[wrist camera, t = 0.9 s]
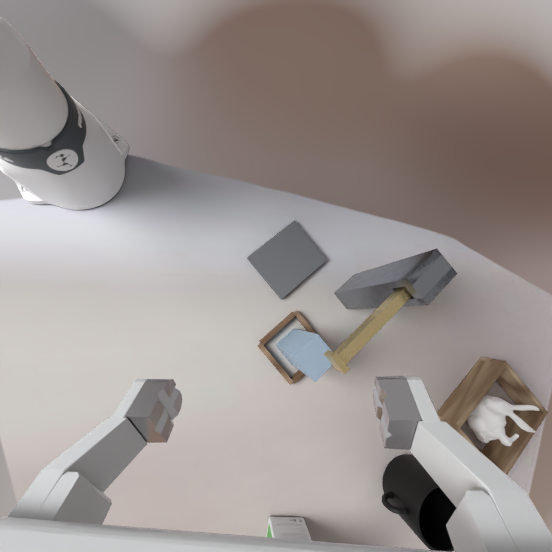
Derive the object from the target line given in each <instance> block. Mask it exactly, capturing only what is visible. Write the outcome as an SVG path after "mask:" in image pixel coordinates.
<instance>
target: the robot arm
mask: <svg viewBox="0 0 552 552" xmlns="http://www.w3.org/2000/svg"><path fill="white" fill-rule="evenodd" d="M115 141H118V142H117V143H115ZM128 152H129V145H128V144H127V142H126V141H125V140H124V139H123V138H122V137H120V136H119V135H118V134H117V133H115V132H114V131H113V130H112V129H110V128H109V127H108V126H107V125H106V124H105V123H103V122H102V121H101V120H100V119H99V118H97V117H96V116H95V115H94V114H92V113H91V112H90V111H89V110H88V109H86V108H85V107H84V106H83V105H82V104H80V103H79V102H78V101H77V100H75V99H74V98H73V97H72V96H71V95H69V94H68V93H67V91H65V89H64V88H63V87H62V86H61V85H60V84H59V83H57V82H56V81H55V80H54V79H53V78H52V77H51V76H50V74H49V73H48V72H47V70H46V69H45V67H44V66H43V65H42V63H41V62H40V61H39V60H38V58H37V56H36V55H35V54H34V52H33V51H32V50H31V48H30V47H29V46H28V44H27V43H26V41H25V40H24V39H23V38H22V36H21V35H20V34H19V32H18V31H17V30H16V29H15V28H14V27H13V26H12V25H11V24H9V23H8V22H7V21H6V20H5V19H4V18H2V17H1V16H0V166H1V167H0V170H1V171H2V172H3V173H4V174H6V175H7V176H8V177H10V178H11V179H13V180H14V181H15V182H16V184H17V186H18V188H19V190H20V192H21V194H22V196H23V198H24V199H25V200H27V201H28V202H29V203H32V204H53V205H56V206H59V207H63V208H66V209H73V210H84V209H90V208H94V207H97V206H100V205H102V204H104V203H106V202H107V201H109V200H110V199H111V198H113V197H114V196H115V195H116V193H117V192H118V191H119V189H120V188H121V186H122V184H123V181H124V177H125V159H126V157H127V155H128ZM374 383H375V387H376V389H374V393H373V399H374V407H375V412H376V416H377V417H378V418H379V419H380V420H381V422H380V432H381V436H382V440H383V444H384V448H389V449H407V450H410V452H411V453H412V454H413V455H414V456H415V458H416V459H417V460H418V461H419V463H420V464H421V465H422V466H423V467H424V469H425V470H426V471H427V472H428V474H429V475H430V476H431V477H432V478H433V480H434V481H435V482H436V483H437V485H438V486H439V487H440V488H441V489H442V491H443V492H444V493H445V494H446V496H447V497H448V498H449V499H450V500H451V502H452V503H453V504H454V505H455V507H456V509H455V511H454V513H453V514H452V516H451V518H450V519H449V521H448V523H447V524H446V527H447V530H448V533H449V536H450V539H451V542H452V545H453V548H454V551H455V552H552V535H551V533H550V532H549V530H548V528H547V526H546V525H545V523H544V521H543V520H542V518H541V516H540V515H539V513H538V512H537V510H536V508H535V506H534V505H533V503H532V501H531V499H530V498H529V496H528V494H527V493H526V491H524V490H523V489H522V488H521V487H520V486H519V485H518V484H516V483H515V482H514V481H513V480H512V479H511V478H510V477H508V476H507V475H506V474H505V473H504V472H503V471H502V470H500V469H499V468H498V467H497V466H496V465H495V464H494V463H492V462H491V461H490V460H489V459H488V458H487V457H486V456H484V455H483V454H482V453H481V452H480V451H479V450H478V449H476V448H475V447H474V446H473V445H472V444H471V443H470V442H468V441H467V440H466V439H465V438H464V437H463V436H462V435H460V434H459V433H458V432H457V431H456V430H455V429H454V428H452V427H451V426H450V425H449V424H448V423H447V422H443V421H441V420H440V418H439V416H438V414H437V412H436V410H435V407H434V405H433V403H432V401H431V399H430V396H429V394H428V392H427V390H426V388H425V385H424V383H423V381H422V379H421V378H420V377H419V376H405V377H404V376H385V377H376V378H375V382H374ZM175 385H176V384H175V382H174V380H173V379H137V380H136V381H135V382H134V383H133V384H132V386H131V387H130V389H129V390H128V392H127V394H126V395H125V397H124V398H123V400H122V402H121V403H120V405H119V406H118V408H117V409H116V411H115V413H114V414H113V416H112V417H108V418H107V419H106V420H104V421H103V422H102V423H101V424H99V425H98V426H97V427H95V428H94V429H93V430H92V431H90V432H89V433H88V434H87V435H85V436H84V437H83V438H81V439H80V440H79V441H78V442H76V443H75V444H74V445H73V446H71V447H70V448H69V449H67V450H66V451H65V452H64V453H62V454H61V455H60V456H59V457H57V458H56V459H55V460H54V461H52V462H51V463H50V464H48V465H47V466H46V467H45V468H43V469H42V471H41V472H40V473H39V475H38V476H37V478H36V479H35V480H34V482H33V483H32V484H31V486H30V487H29V488H28V490H27V491H26V493H25V494H24V495H23V497H22V498H21V499H20V501H19V502H18V503H17V505H16V506H15V508H14V509H13V510H12V512H11V513H10V515H9V516H8V517H1V516H0V552H448V551H436V550H423V549H410V548H397V547H384V546H372V545H359V544H346V543H333V542H320V541H308V540H295V539H282V538H269V537H256V536H244V535H231V534H218V533H205V532H192V531H180V530H167V529H154V528H141V527H129V526H116V525H103V524H102V523H103V521H104V519H105V517H106V515H107V513H108V511H109V508H110V506H111V504H112V503H111V499H110V498H108V497H107V496H106V495H105V494H104V493H103V492H104V491H105V490H106V489H107V488H108V486H109V485H110V484H111V483H112V482H113V481H114V480H115V479H116V478H117V477H118V475H119V474H120V473H121V472H122V471H123V470H124V469H125V468H126V467H127V466H128V464H129V463H130V462H131V461H132V460H133V459H134V458H135V457H136V456H137V454H138V453H139V452H140V451H141V450H142V449H143V448H144V447H145V446H146V445H147V443H156V442H167V441H168V438H169V436H170V433H171V431H172V428H173V426H174V424H173V419H174V418H175V417H176V416H177V415H178V414H179V411H180V409H181V404H182V395H181V393H180V391H179V390H177V389H176V388H174V387H175Z"/></svg>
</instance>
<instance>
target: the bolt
mask: <svg viewBox="0 0 552 552" xmlns="http://www.w3.org/2000/svg"><path fill="white" fill-rule="evenodd" d="M411 297H412V295H411V294H410V293H409V291H408V290H407V289H406V288H405V287H398V288H397V289H396V290H395V291H394V292H393V293H392V294H391V295H390V296H389V297H388V298H387V299H386V300H385V301H384V302H383V303H382V304H381V305H380V306H379V307H378V308H377V309H376V310H375V311H374V312H373V313H372V314H371V315H370V316H369V317H368V318H367V319H366V320H365V321H364V322H363V323H362V324H361V325H360V326H359V327H358V328H357V329H356V330H355V331H354V332H353V333H352V334H351V335H350V336H349V337H348V338H347V339H346V340H345V341H344V342H343V343H342V344H341V345H340V346H339V347H338V348H337V349H336V350H335V351H334V352H333V351H330V350H327V351H326V352H325V353H324V356H325V357H326V358H327V359H328V360H329V362H330V363H331V364H332V365H333V366H334V368H335V369H336V370H338V371H340V372H342V373H344V374H346V373H347V372H348V371H349V370H350V368H349V367H348V366H347V365H346V364H347V363H348V362H349V361H350V360H351V359H352V358H353V357H354V356H355V355H356V354H357V353H358V352H359V351H360V350H361V349H362V347H363V346H364V345H365V344H366V343H367V342H368V341H369V340H370V339H371V338H372V337H373V336H374V335H375V334H376V333H377V332H378V331H379V330H380V329H381V328H382V327H383V326H384V325H385V324H386V323H387V322H388V321H389V320H390V319H391V318H392V316H393V315H394V314H395V313H396V312H397V311H398V310H399V309H400V308H401V307H402V306H403V305H404V304H405V303H406V302H407V301H408V300H409V299H410V298H411Z"/></svg>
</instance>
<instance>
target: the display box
mask: <svg viewBox="0 0 552 552" xmlns="http://www.w3.org/2000/svg"><path fill="white" fill-rule="evenodd" d="M495 381H497V382H498V383H499V385H500V386H501V387H502V388H503V389H504V391H505V392H506V393H507V394H508V396H509V397H510V398H511V399H512V400H513V402H514V403H515V405H533V406H536V407H538V408H539V411H535V410H525V411H520V410H513V413H515V414H516V415H517V416H518V417H520V418H521V419H522V420H523V421H524V422H525V423H526V424H528V425H529V426H530V427H531V428H532V429H533V430H534V431H536V430H537V428H538V427H539V425H540V424H541V422H542V421H543V419H544V418H545V416H546V415H547V413H548V412H547V411H546V410H545V408H544V407H543V406H542V405H541V403H540V402H539V401H538V400H537V399H536V397H535V396H534V395H533V394H532V393H531V391H530V390H529V389H528V388H527V386H526V385H525V384H524V383H523V382H522V380H521V379H520V378H519V377H518V375H517V374H516V373H515V372H514V371H513V369H512V368H511V367H510V366H509V365H508V363H507V362H506V361H502V360H496V359H490V358H483V357H481V358H480V359H479V360H478V362H477V363H476V364H475V365H474V367H473V368H472V369H471V370H470V372H469V373H468V374H467V375H466V377H465V378H464V379H463V380H462V382H461V383H460V384H459V385H458V387H457V388H456V389H455V390H454V392H453V393H452V394H451V395H450V397H449V398H448V399H447V400H446V402H445V403H444V404H443V406H442V407H441V408H440V409H439V411H438V412H437V414H438V416H439V418H440V420H441V421H443V422H447V423H448V424H449V425H450V426H451V427H452V428H454V429H455V430H456V431H457V432H458V433H459V434H460V435H462V436H463V437H464V438H465V439H466V440H467V441H468V442H470V443H471V444H472V445H473V446H474V447H475V448H476V446H475V445H474V444H473V443H472V441H471V440H470V439H469V438H468V437H467V435H466V434H465V433H464V432H463V431H462V429H461V427H462V425H463V424H464V423H465V421H466V420H467V419H468V417H469V416H470V415H471V413H472V412H473V411H474V409H475V408H476V407H477V405H478V404H479V403H480V401H481V400H482V399H483V397H484V396H485V395H486V393H487V392H488V391H489V389H490V388H491V387H492V385H493V384H494V383H495ZM505 419H506V422H507V424H506V425H505V427H504V428H505V435H506V436H507V437H509V438H510V437H512V436H513V435H514V434H518V435H519V437H518V438H517V439H516V440H515V441H514V442H512V445H511V446H505V445H503V444H502V443H501V441H500V440H499V439H496V440H490V441H489V443H487V445H486V446H485V448H484V449H483V450H482V452H481V453H482V454H483V455H484V456H486V457H487V458H488V459H489V460H490V461H491V462H492V463H494V464H495V465H496V466H497V467H498V468H499V469H500V470H502V471H503V472H504V473H505V474H506V475H507V474H508V473H509V471H510V469H511V468H512V466H513V465H514V463H515V462H516V460H517V459H518V457H519V456H520V454H521V453H522V451H523V450H524V448H525V447H526V445H527V444H528V442H529V441H530V439H531V438H532V436H533V435H534V433H532V432H527V431H525V430H523V429H521V428H520V427H519V426H518V425H517V424H516V422H515V421H514V420H513V419H512V418H511V417H509V416H506V418H505ZM476 449H477V448H476Z"/></svg>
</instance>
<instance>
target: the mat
mask: <svg viewBox="0 0 552 552" xmlns="http://www.w3.org/2000/svg"><path fill="white" fill-rule="evenodd" d="M247 259H248V260H249V261H250V263H251V264H252V265H253V266H254V267H255V269H256V270H257V271H258V272H259V273H260V275H261V276H262V277H263V278H264V279H265V281H266V282H267V283H268V284H269V285H270V287H271V288H272V289H273V290H274V291H275V293H276V294H277V295H278V296H279V297H280V299H283V298H284V297H285V296H286V295H287V294H288V293H289V292H291V291H292V290H293V289H294V288H295V287H296V286H298V285H299V284H300V283H301V282H302V281H303V280H304V279H306V278H307V277H308V276H309V275H310V274H311V273H313V272H314V271H315V270H316V269H317V268H318V267H319V266H321V265H322V264H323V263H324V262H325V261H326V260H327V259H326V257H325V256H324V255H323V254H322V253H321V251H320V250H319V249H318V248H317V247H316V245H315V244H314V243H313V242H312V241H311V239H310V238H309V237H308V236H307V234H306V233H305V232H304V231H303V230H302V228H301V227H300V226H299V225H298V224H297V222H296V221H293V222H292V223H291V224H290V225H288V226H287V227H286V228H284V229H283V230H282V231H281V232H279V233H278V234H277V235H275V236H274V237H273V238H272V239H270V240H269V241H268V242H267V243H265V244H264V245H263V246H261V247H260V248H259V249H258V250H256V251H255V252H254V253H252V254H251V255H250V256H249V257H248V258H247Z"/></svg>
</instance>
